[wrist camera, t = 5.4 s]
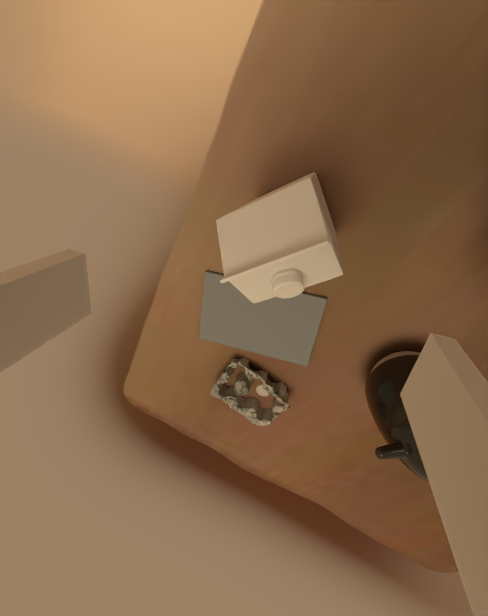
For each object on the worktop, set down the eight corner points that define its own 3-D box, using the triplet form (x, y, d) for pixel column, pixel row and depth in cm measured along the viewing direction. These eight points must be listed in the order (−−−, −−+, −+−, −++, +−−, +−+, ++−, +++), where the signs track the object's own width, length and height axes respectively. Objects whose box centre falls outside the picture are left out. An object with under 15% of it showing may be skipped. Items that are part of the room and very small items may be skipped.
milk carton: (255, 198, 35) (194, 230, 19) (315, 170, 33) (307, 179, 16) (278, 254, 37) (242, 328, 21) (336, 233, 35) (347, 297, 18)
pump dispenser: (366, 334, 39) (388, 422, 26) (457, 343, 37) (532, 445, 24) (355, 396, 44) (368, 499, 30) (435, 407, 41) (489, 524, 28)
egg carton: (296, 389, 46) (294, 408, 42) (267, 415, 49) (263, 435, 46) (239, 348, 45) (232, 364, 41) (213, 378, 49) (205, 395, 45)
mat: (327, 297, 38) (327, 299, 38) (307, 363, 43) (307, 366, 43) (206, 270, 41) (205, 271, 40) (200, 336, 45) (199, 338, 45)
